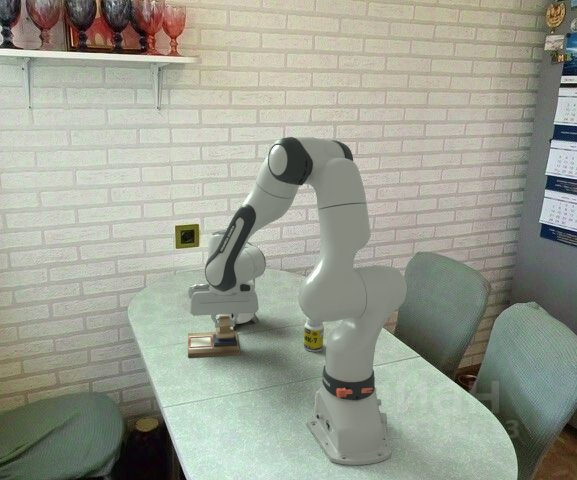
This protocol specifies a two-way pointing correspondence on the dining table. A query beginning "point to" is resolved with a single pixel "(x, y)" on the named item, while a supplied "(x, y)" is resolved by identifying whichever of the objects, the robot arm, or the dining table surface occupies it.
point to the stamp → (224, 328)
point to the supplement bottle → (313, 335)
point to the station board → (211, 345)
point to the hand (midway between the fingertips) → (224, 326)
